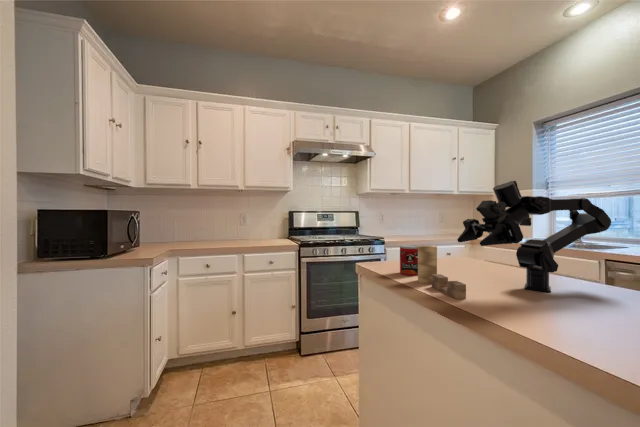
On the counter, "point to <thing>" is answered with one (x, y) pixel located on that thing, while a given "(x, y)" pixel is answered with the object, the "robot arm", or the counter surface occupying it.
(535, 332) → the counter surface
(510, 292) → the counter surface
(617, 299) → the counter surface
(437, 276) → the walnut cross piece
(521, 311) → the counter surface
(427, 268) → the beige tall block
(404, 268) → the canned food
